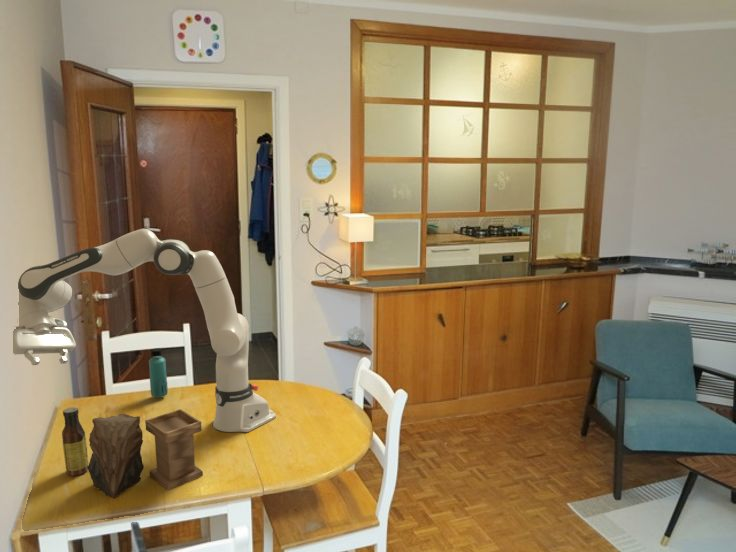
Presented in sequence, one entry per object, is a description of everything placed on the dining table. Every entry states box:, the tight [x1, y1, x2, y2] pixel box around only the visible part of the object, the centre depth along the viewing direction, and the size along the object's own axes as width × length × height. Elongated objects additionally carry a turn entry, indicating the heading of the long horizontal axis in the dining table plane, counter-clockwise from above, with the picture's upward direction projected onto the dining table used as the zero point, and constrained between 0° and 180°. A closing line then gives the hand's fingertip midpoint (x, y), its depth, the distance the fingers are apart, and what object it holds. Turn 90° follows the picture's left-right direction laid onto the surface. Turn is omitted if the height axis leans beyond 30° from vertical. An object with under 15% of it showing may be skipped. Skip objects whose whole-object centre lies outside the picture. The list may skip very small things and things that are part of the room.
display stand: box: [144, 409, 204, 491], centre depth 176 cm, size 11×12×18 cm
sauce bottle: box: [61, 406, 90, 477], centre depth 177 cm, size 6×6×20 cm
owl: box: [87, 413, 144, 499], centre depth 172 cm, size 13×13×20 cm
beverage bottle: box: [148, 348, 169, 398], centre depth 232 cm, size 6×7×20 cm
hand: (50, 363), depth 184 cm, fingers open, 8 cm apart
